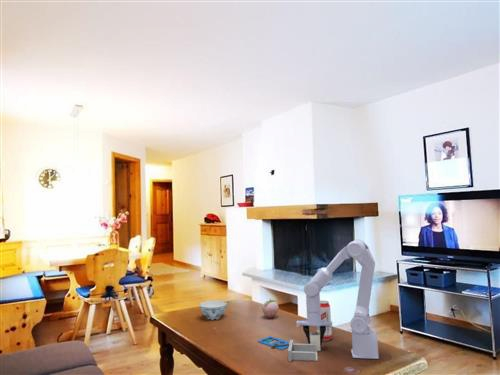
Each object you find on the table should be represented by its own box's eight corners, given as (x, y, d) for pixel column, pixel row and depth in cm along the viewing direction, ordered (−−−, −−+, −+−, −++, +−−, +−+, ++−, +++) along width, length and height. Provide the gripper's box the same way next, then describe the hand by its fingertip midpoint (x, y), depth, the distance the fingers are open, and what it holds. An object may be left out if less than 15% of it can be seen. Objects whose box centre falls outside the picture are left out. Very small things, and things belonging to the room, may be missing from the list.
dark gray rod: (295, 345, 153) (295, 342, 153) (295, 346, 152) (295, 343, 152) (271, 347, 151) (270, 345, 151) (271, 348, 150) (271, 346, 150)
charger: (320, 347, 150) (319, 331, 150) (320, 350, 146) (319, 334, 146) (310, 346, 151) (309, 331, 151) (310, 350, 147) (309, 334, 147)
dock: (317, 350, 146) (316, 340, 147) (317, 362, 134) (316, 351, 135) (290, 349, 148) (290, 339, 148) (288, 361, 136) (287, 350, 137)
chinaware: (196, 316, 202) (196, 302, 202) (221, 312, 208) (221, 299, 209) (204, 323, 188) (204, 308, 189) (231, 319, 195) (231, 304, 195)
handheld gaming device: (281, 348, 148) (256, 340, 159) (281, 351, 148) (256, 342, 159) (295, 343, 154) (270, 335, 165) (295, 345, 153) (270, 337, 164)
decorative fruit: (268, 314, 201) (267, 296, 202) (281, 316, 196) (280, 297, 197) (259, 319, 193) (258, 300, 194) (272, 321, 189) (271, 301, 189)
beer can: (322, 335, 164) (320, 299, 165) (334, 338, 159) (332, 301, 161) (314, 339, 159) (312, 302, 161) (326, 342, 155) (324, 304, 156)
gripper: (331, 308, 152) (332, 341, 151) (296, 308, 155) (298, 340, 154) (331, 313, 145) (333, 347, 144) (295, 312, 148) (297, 346, 147)
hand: (315, 344), depth 148 cm, fingers closed on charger, 4 cm apart
